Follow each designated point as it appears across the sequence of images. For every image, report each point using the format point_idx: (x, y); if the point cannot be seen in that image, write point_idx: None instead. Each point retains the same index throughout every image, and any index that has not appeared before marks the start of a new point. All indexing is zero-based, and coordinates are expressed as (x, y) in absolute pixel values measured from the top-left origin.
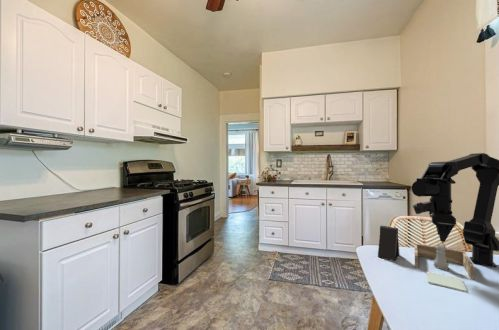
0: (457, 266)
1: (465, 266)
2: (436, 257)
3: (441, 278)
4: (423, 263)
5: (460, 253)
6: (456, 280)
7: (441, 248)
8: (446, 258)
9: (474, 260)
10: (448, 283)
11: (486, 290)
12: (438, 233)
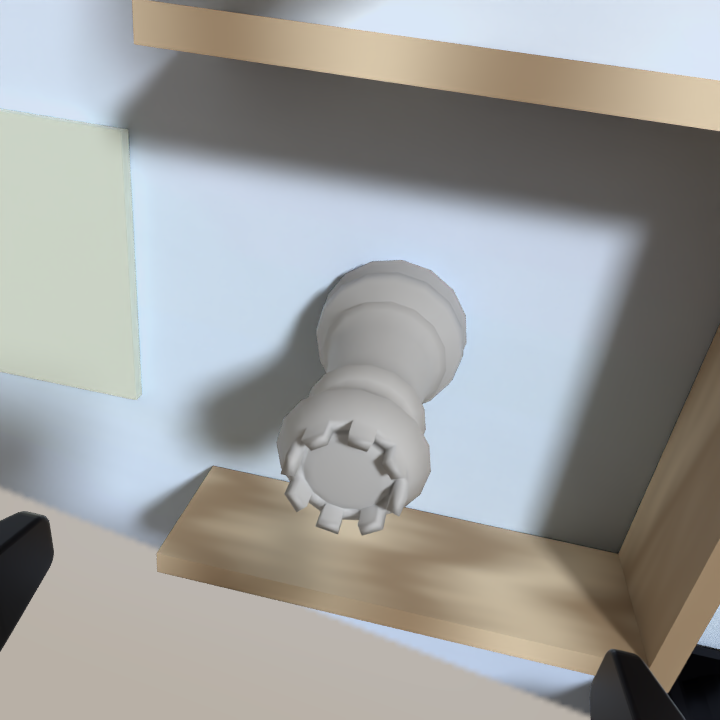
0: (508, 484)
1: (443, 537)
2: (376, 328)
3: (19, 235)
4: (438, 156)
5: (650, 634)
6: (63, 347)
7: (281, 452)
8: (671, 463)
9: (715, 677)
10: None
11: (52, 478)
12: (618, 686)
